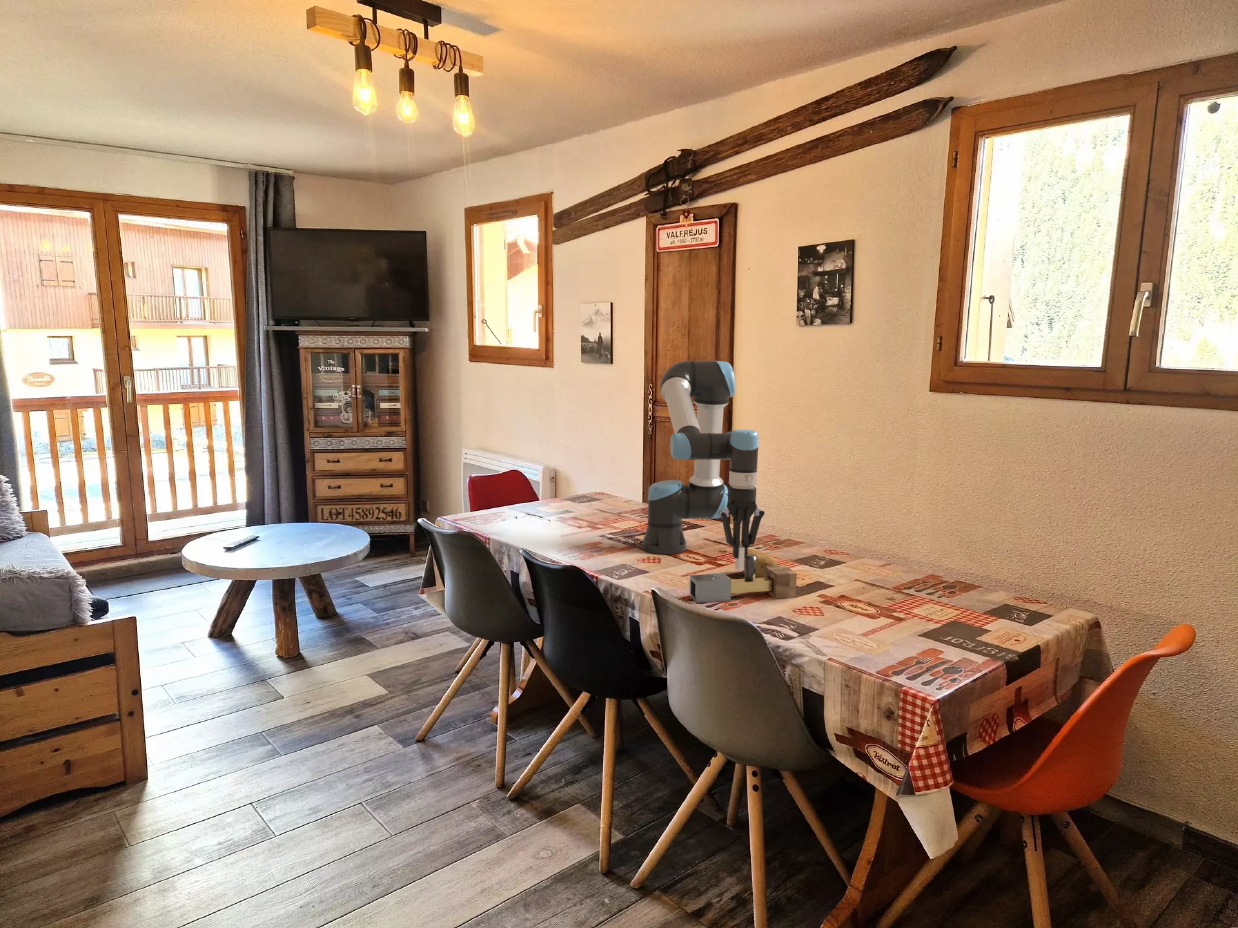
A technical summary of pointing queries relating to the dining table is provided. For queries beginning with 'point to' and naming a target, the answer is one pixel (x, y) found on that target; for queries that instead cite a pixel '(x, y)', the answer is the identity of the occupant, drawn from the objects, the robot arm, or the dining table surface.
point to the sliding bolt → (751, 579)
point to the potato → (761, 562)
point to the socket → (781, 581)
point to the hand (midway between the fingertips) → (739, 568)
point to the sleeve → (710, 588)
